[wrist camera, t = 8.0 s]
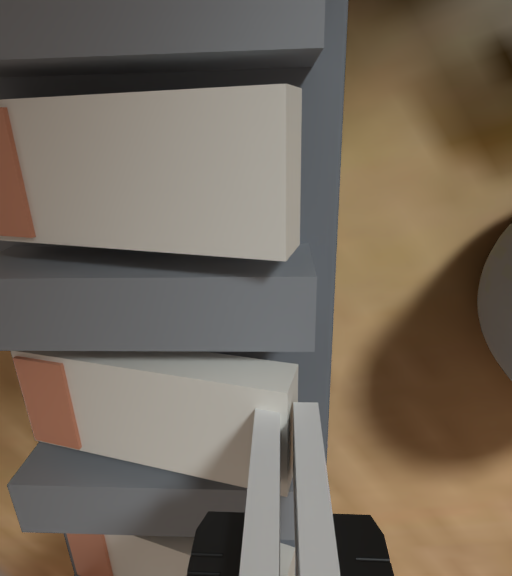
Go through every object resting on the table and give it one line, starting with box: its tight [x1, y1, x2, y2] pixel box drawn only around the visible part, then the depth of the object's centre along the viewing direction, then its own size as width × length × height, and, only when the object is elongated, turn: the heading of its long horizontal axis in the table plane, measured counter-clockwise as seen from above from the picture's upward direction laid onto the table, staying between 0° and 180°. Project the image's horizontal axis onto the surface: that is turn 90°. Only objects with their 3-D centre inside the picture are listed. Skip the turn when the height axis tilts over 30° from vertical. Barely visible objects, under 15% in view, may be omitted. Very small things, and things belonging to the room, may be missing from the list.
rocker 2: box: [11, 351, 298, 497], centre depth 15 cm, size 4×10×2 cm, turn 91°
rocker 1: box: [0, 84, 302, 261], centre depth 12 cm, size 4×10×2 cm, turn 92°
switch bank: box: [0, 0, 348, 576], centre depth 18 cm, size 28×13×8 cm, turn 1°
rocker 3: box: [66, 533, 295, 576], centre depth 18 cm, size 4×10×2 cm, turn 92°
